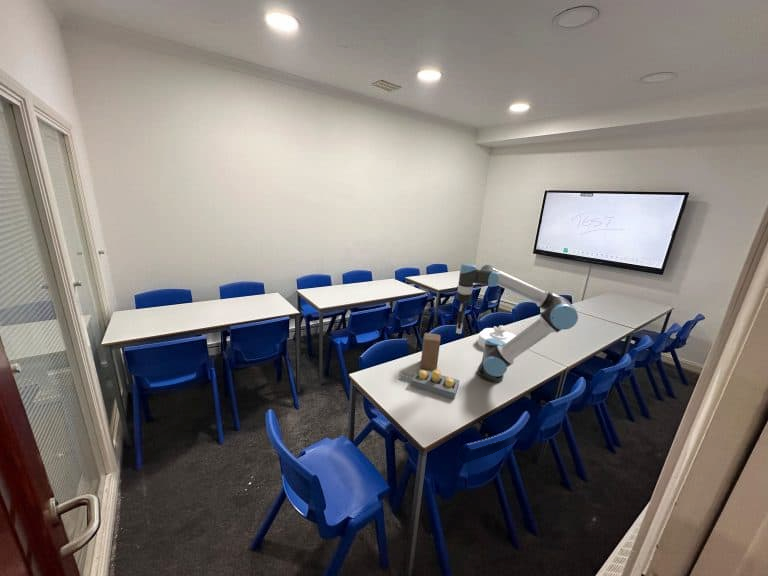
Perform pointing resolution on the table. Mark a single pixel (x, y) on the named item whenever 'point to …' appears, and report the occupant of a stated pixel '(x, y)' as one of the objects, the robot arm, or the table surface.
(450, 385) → the button
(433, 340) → the wooden block
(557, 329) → the robot arm
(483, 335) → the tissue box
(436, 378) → the button
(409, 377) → the pattern tile
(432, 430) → the table surface
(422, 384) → the button board
